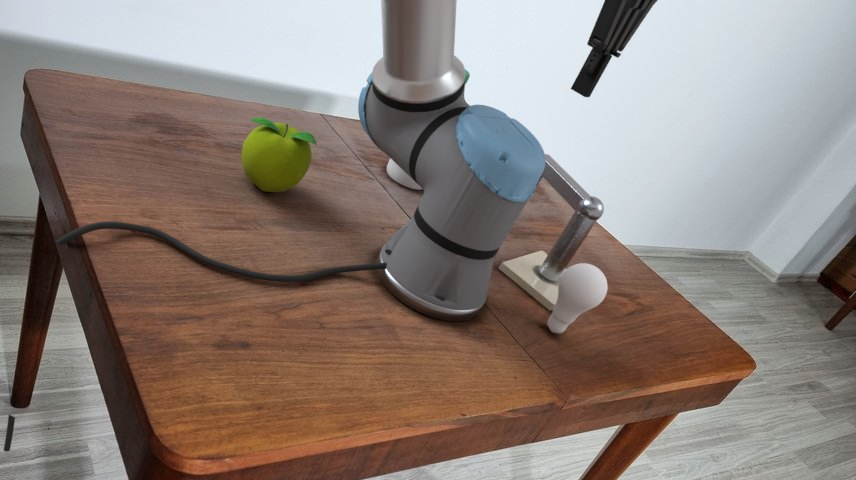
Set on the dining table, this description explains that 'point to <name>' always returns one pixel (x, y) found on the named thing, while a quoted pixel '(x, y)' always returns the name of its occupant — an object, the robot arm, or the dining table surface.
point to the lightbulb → (577, 295)
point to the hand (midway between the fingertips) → (580, 92)
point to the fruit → (276, 155)
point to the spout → (579, 224)
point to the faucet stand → (532, 277)
